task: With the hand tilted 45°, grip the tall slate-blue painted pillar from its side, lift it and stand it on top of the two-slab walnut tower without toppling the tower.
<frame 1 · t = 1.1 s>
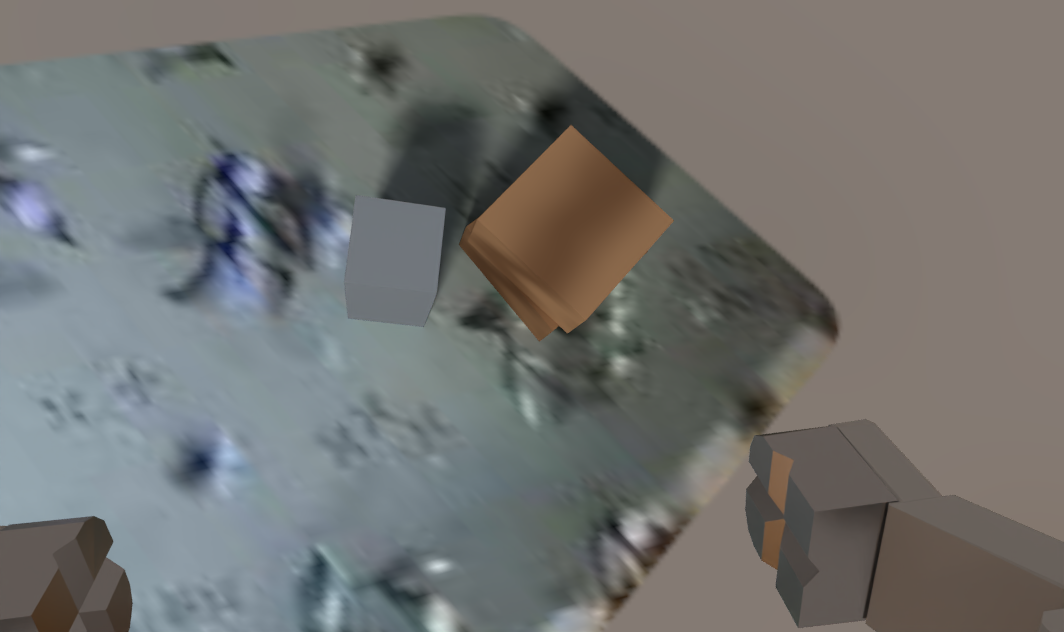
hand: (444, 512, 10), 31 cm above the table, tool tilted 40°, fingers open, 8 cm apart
tower top: (560, 241, 41), point 3 cm above the table, touching tower base
tower base: (544, 257, 45), on the table, touching tower top
pillar: (390, 286, 42), on the table
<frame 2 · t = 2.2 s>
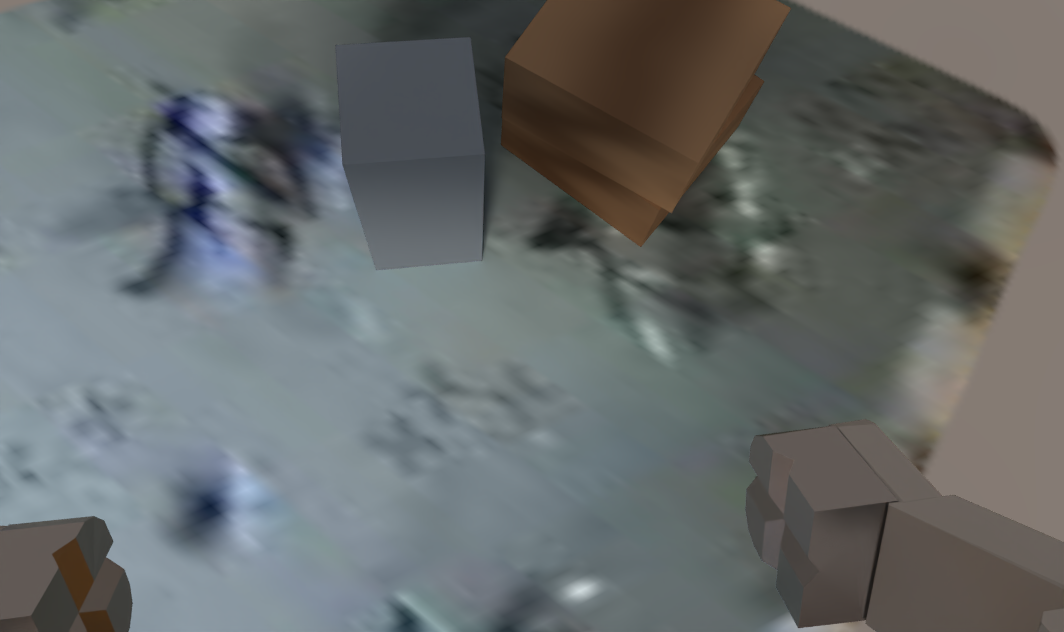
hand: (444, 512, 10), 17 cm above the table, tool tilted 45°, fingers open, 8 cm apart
tower top: (631, 94, 29), point 3 cm above the table
tower base: (619, 139, 32), on the table
pillar: (425, 217, 30), on the table
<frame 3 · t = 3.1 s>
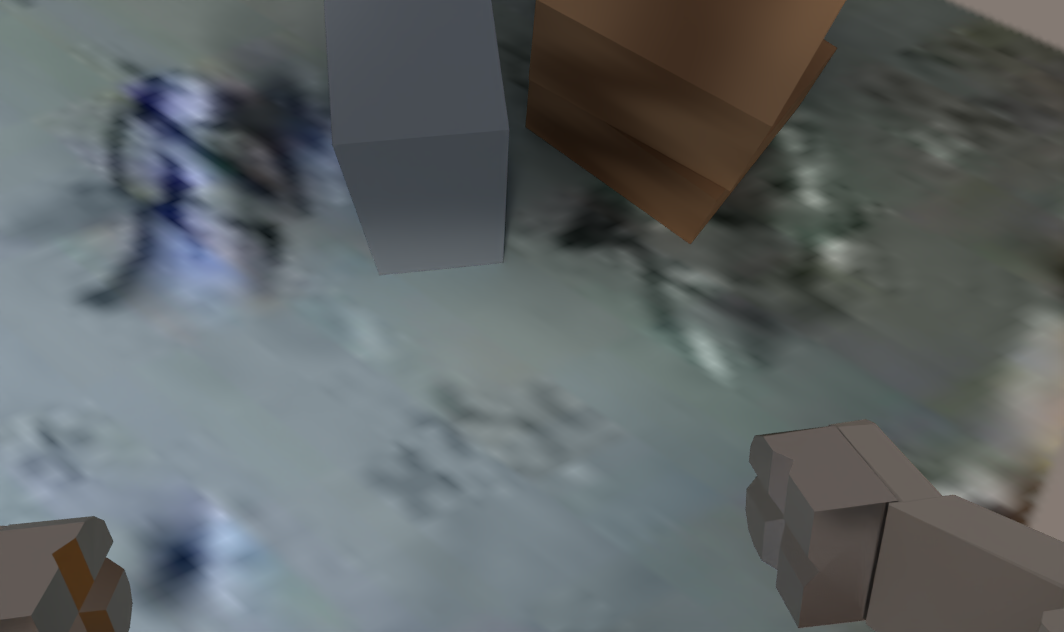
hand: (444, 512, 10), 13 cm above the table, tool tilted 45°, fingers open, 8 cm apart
tower top: (681, 53, 25), point 3 cm above the table, touching tower base
tower base: (662, 120, 28), on the table, touching tower top
pillar: (435, 213, 26), on the table
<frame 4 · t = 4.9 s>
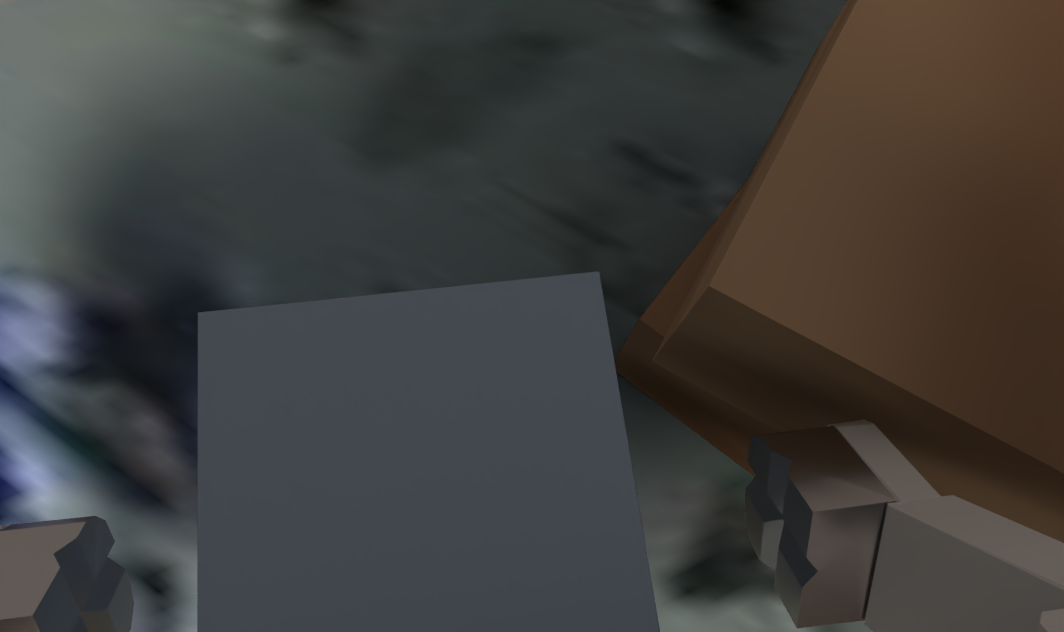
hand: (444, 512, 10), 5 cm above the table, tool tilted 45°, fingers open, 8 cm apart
tower top: (922, 289, 13), point 3 cm above the table, touching gripper, tower base
tower base: (834, 346, 17), on the table, touching tower top
pillar: (454, 536, 15), on the table
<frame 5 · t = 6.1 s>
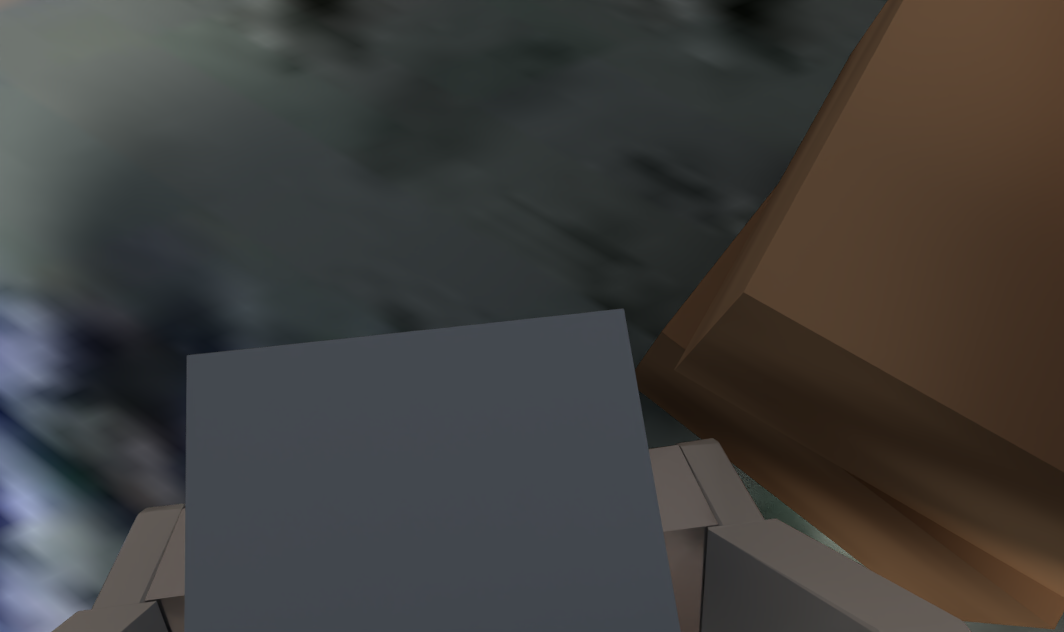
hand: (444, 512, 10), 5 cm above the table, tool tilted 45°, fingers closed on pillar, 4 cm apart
tower top: (961, 303, 13), point 3 cm above the table
tower base: (861, 361, 16), on the table
pillar: (462, 568, 14), on the table, touching gripper
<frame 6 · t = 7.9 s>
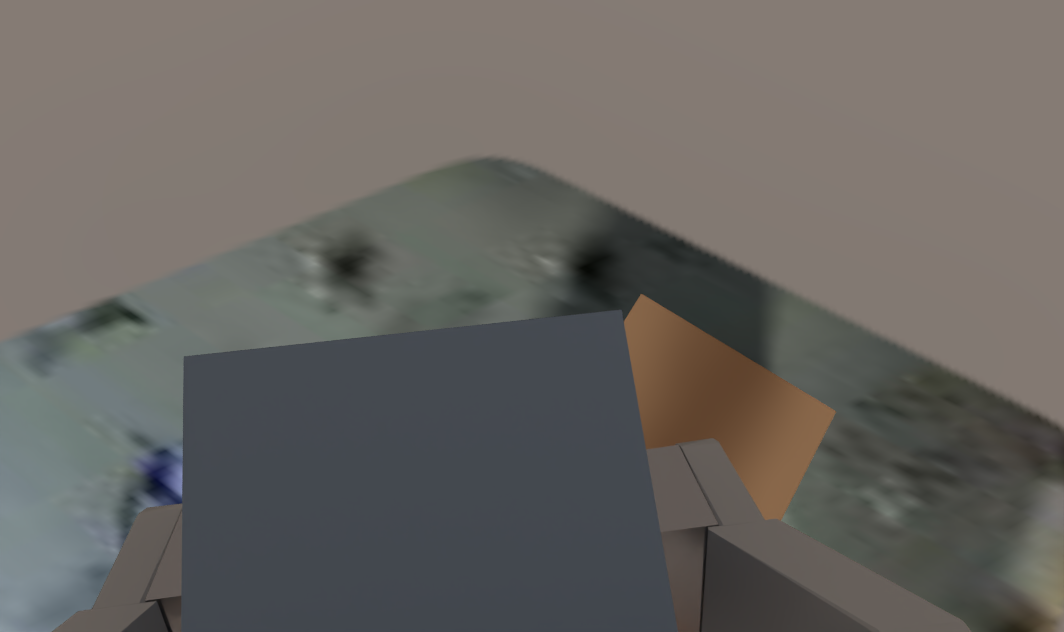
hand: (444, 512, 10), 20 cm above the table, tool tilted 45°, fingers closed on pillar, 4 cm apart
tower top: (659, 461, 27), point 3 cm above the table
pillar: (460, 569, 14), point 15 cm above the table, touching gripper
when the fingers open (13 cm above the table, at t = 10.2 s): pillar drops 2 cm, resting on tower top.
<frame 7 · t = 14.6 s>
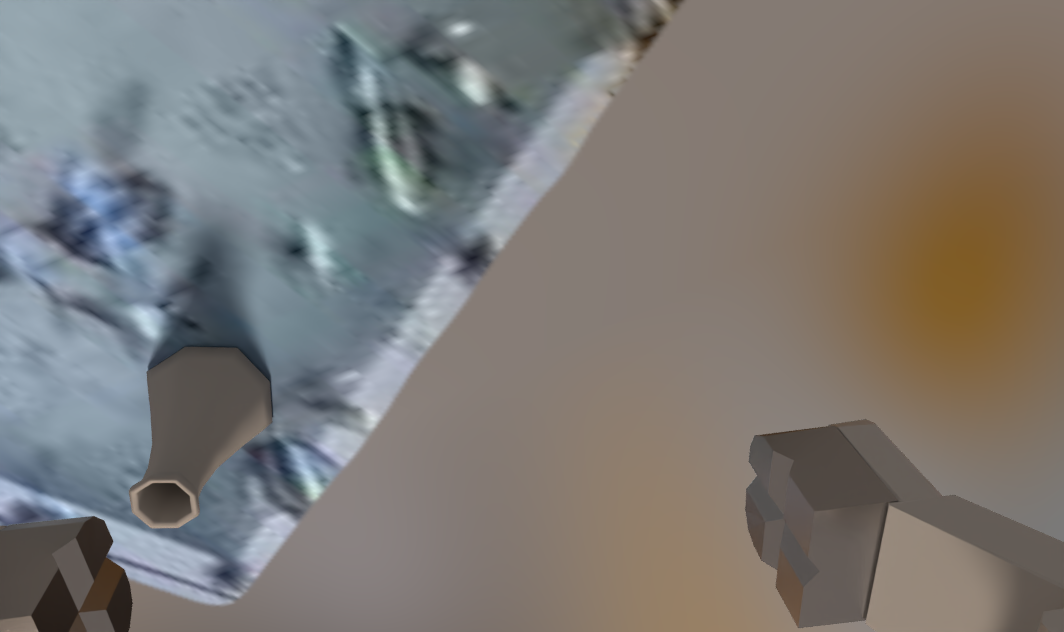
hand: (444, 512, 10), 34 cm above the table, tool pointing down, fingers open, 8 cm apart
flask: (213, 393, 47), on the table
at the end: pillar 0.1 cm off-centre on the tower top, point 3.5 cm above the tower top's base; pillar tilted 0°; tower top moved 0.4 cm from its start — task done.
